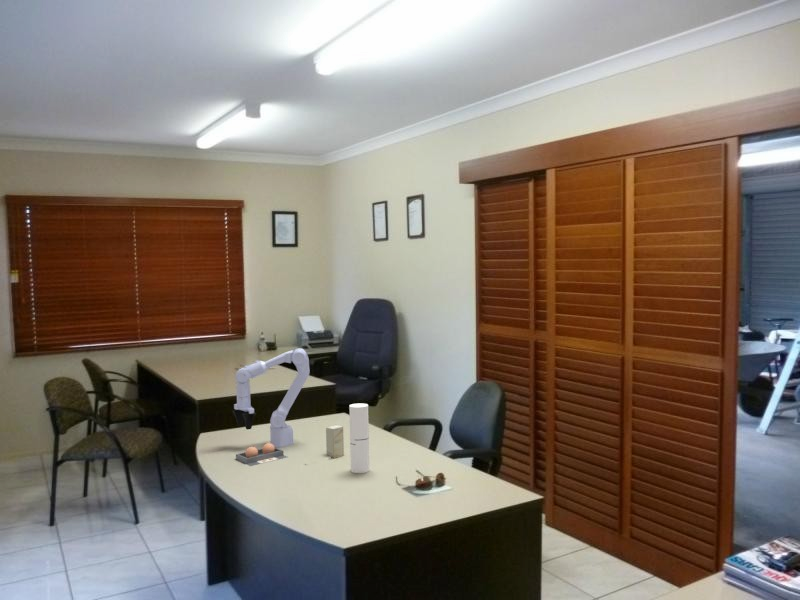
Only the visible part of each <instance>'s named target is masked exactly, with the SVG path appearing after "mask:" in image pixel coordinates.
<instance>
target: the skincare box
mask: <svg viewBox="0 0 800 600" xmlns="http://www.w3.org/2000/svg"><path fill="white" fill-rule="evenodd" d="M325 433H326V434H325V435H326V437H325V438H326V441H325V442H326V455H327V456H330V457H331V459H337V458H339V456H340V457H342V455H343V456H344V455H345V446H344V445H345V442H344V440H345V439H344V426H342V425H337V424H335V425H331V426H328V427H326V428H325ZM336 457H337V458H336Z"/></svg>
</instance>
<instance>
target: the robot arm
mask: <svg viewBox="0 0 800 600" xmlns="http://www.w3.org/2000/svg"><path fill="white" fill-rule="evenodd" d="M283 363H286V364H287V363H288V364H292V363H293V364H294V366H295V368H296V371H297V372H298V373H297V374H296V376H295V378H294V380H293V381H292V383H291V385H290V386H289V388H288V389H287V392H286V394H285V396H284V397H283V399H282V401H281V403H280V404H279V405H278V407H277V409H276V410H273V412H272V414H271V417H270V420H269V422H270V426H269V429H270V430H269V436H270V437H269V438H270V440H269V441H270V443H271V444H273V445H274V447H276V448H285V447H287V446H290V445H294V443H295V442H294V429H293V427H292V426H291V425H290V424H287V423H286V419H287V416H288V414H289V411H290V409H291V408H292V406H293V404H294V403H295V400H296V399H297V397H298V395H299V393H300V392H301V390H302V389H303V387H304V385H305V383H306V381H307V380H308V377H309V376H310V360H309V356H308V353H307V351H306V350H305V349H303V348H301V347H299V348H295V349H291V350H289V351H286V352H283V353H280V354H279V355H277V356H275V357H272V358H270V359H268V360H266V361H262V360H258V359H257V360H254V363H251V364H249V365H244V367H242V368H240V369H238V370H237V371H236V373H235V380H236V386H235V387H236V388H235V389H236V403H235V404H233V409H232V411H231V412H232V414H233V415H234V418H235V421H236V424H237V426H238V427H242V426H244V425H245V429H246V430H251V429H252V427H253V423H254V419H255V417H256V415H257V413H256V412H255V408H254V407H253V406H252V405H251V401H252V400H251V383H250V379H254V378H257V377H259V376H261V375H263V374H266V373H267V370H268V369H270V368H272V367H275V366H278V365H280V364H283Z"/></svg>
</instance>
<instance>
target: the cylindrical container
mask: <svg viewBox="0 0 800 600" xmlns="http://www.w3.org/2000/svg"><path fill="white" fill-rule="evenodd" d="M348 409H349V442H350V443H349V447H350V448H349V449H350V451H349V452H350V455H349V456H350V472H351V473H354V474H364V473H368V472H370V433H369V432H370V431H369V430H370V429H369V426H370V425H369V404H368V403H359V402H358V403H352V404H349V407H348Z"/></svg>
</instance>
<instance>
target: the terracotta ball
mask: <svg viewBox="0 0 800 600" xmlns="http://www.w3.org/2000/svg"><path fill="white" fill-rule="evenodd" d="M257 449H258V448H256V447H255V446H249V447H248V448H246V450H245V451H244V452H245V455H246V457H247V458H250V457H255V456H257V455H258V450H257Z"/></svg>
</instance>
